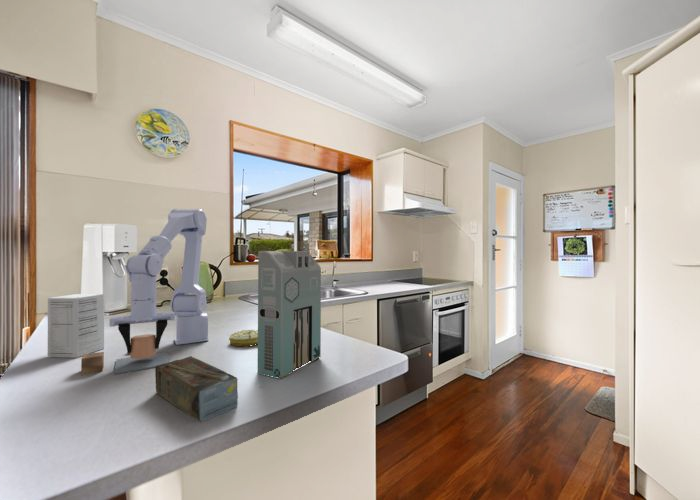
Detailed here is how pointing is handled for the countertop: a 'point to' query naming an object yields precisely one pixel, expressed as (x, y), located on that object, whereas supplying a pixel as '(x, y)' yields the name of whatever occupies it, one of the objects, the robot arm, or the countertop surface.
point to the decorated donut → (244, 338)
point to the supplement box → (75, 325)
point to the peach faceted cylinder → (143, 346)
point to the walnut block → (92, 363)
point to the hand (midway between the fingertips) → (143, 350)
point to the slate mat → (140, 363)
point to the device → (288, 311)
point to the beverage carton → (196, 387)
